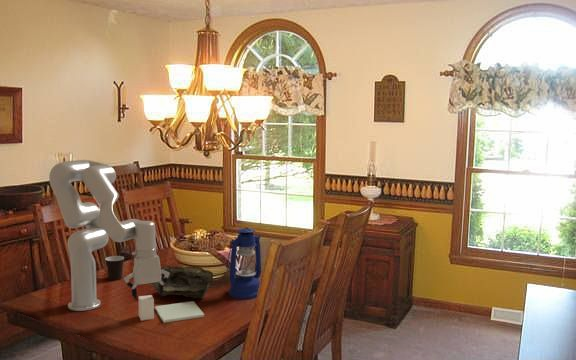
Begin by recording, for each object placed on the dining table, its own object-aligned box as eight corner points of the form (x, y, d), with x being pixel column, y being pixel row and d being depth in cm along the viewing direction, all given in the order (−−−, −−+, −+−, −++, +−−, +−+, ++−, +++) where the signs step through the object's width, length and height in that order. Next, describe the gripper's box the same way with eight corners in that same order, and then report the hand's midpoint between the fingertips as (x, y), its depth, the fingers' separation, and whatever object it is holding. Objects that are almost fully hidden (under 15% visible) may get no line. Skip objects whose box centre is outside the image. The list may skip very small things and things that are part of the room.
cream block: (138, 316, 209) (138, 296, 208) (151, 314, 211) (151, 294, 210) (141, 320, 204) (140, 300, 203) (154, 318, 206) (153, 299, 205)
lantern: (239, 302, 227) (240, 233, 223) (219, 292, 238) (220, 227, 234) (271, 293, 238) (272, 228, 234) (250, 285, 249) (251, 222, 246)
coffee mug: (121, 281, 250) (120, 261, 249) (102, 281, 250) (102, 260, 249) (128, 274, 262) (128, 254, 260) (111, 273, 262) (111, 254, 260)
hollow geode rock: (213, 310, 229) (224, 279, 237) (204, 297, 219) (216, 265, 228) (156, 300, 237) (168, 270, 246) (145, 287, 227) (158, 257, 236)
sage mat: (155, 308, 217) (155, 306, 217) (193, 303, 224) (193, 301, 223) (163, 322, 202) (163, 320, 202) (204, 316, 209) (204, 314, 209)
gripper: (124, 258, 197) (126, 302, 199) (170, 252, 205) (172, 295, 206) (121, 253, 204) (123, 296, 206) (166, 248, 211) (167, 290, 213)
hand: (147, 296), depth 206 cm, fingers open, 9 cm apart
